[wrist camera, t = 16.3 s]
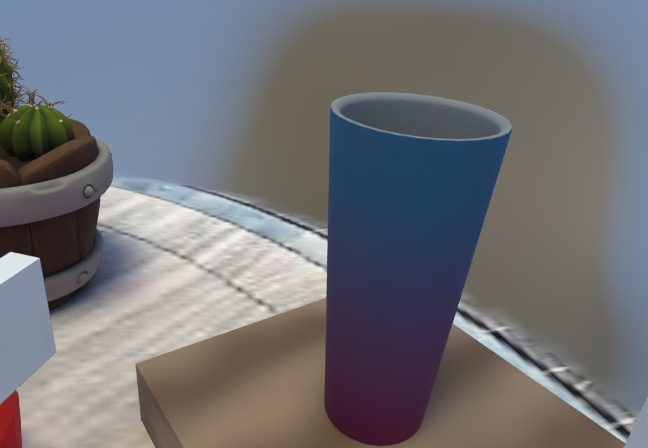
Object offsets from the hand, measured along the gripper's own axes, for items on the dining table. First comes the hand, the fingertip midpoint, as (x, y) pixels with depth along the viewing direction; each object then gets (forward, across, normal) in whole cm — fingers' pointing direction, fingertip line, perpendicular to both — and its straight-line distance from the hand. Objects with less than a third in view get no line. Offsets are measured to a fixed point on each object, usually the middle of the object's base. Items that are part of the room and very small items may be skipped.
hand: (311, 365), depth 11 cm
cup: (+12, +1, -12) cm, 17 cm away
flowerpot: (+20, -27, -16) cm, 37 cm away
